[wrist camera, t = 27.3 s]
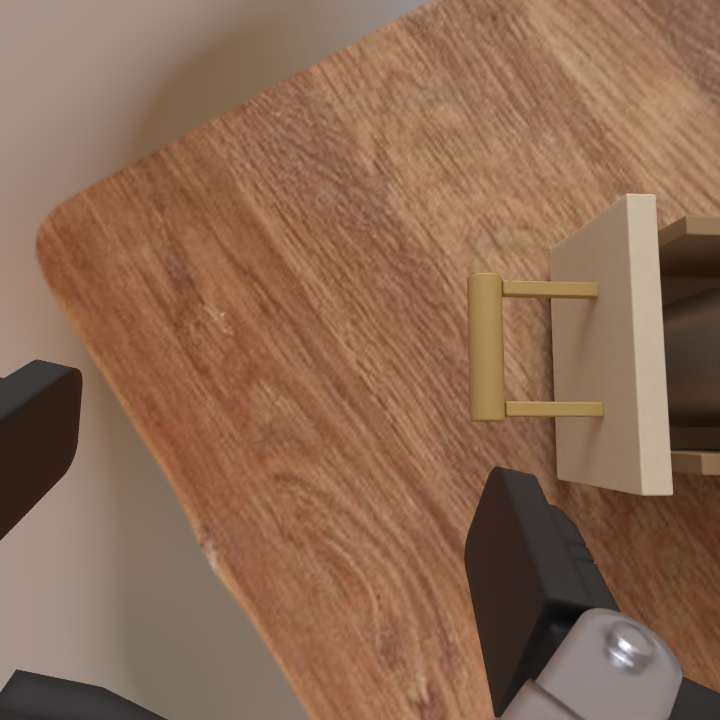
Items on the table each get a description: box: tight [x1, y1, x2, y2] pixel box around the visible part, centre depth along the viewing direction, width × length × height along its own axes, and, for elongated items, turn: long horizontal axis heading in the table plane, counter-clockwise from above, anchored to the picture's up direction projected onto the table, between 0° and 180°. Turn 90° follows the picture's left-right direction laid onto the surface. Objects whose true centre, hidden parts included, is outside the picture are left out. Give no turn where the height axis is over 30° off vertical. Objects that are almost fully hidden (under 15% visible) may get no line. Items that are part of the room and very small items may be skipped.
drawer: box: [467, 194, 720, 496], centre depth 26 cm, size 19×11×7 cm, turn 90°
